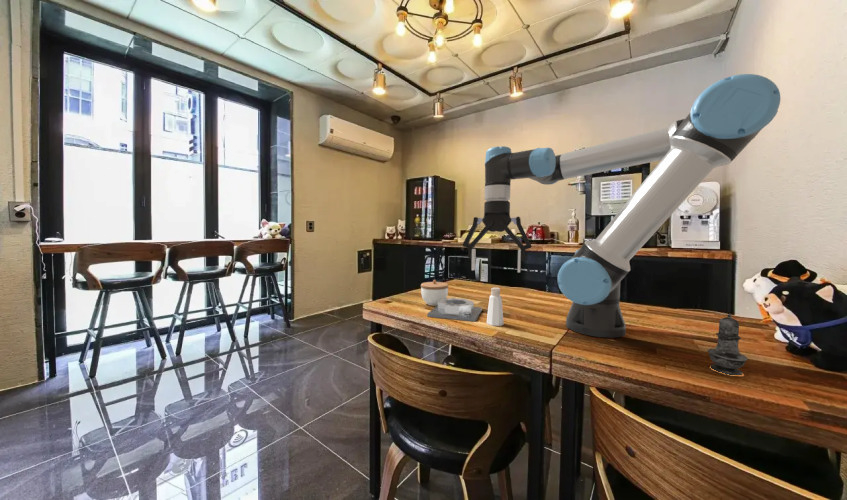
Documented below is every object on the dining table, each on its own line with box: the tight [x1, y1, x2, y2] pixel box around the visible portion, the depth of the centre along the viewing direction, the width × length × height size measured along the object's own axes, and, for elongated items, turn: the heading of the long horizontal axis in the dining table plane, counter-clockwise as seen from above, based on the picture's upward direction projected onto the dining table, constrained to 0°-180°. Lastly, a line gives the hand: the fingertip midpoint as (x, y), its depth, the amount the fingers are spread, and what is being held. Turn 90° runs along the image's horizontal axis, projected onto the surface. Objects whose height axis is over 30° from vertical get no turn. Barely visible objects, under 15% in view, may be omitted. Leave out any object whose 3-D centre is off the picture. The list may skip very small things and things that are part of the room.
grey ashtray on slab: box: [427, 297, 483, 322], centre depth 105 cm, size 16×14×5 cm
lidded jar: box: [420, 279, 449, 307], centre depth 119 cm, size 11×11×9 cm
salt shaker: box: [486, 287, 505, 327], centre depth 93 cm, size 5×5×11 cm
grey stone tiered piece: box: [706, 313, 749, 376], centre depth 62 cm, size 6×6×12 cm
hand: (495, 271), depth 93 cm, fingers open, 13 cm apart
